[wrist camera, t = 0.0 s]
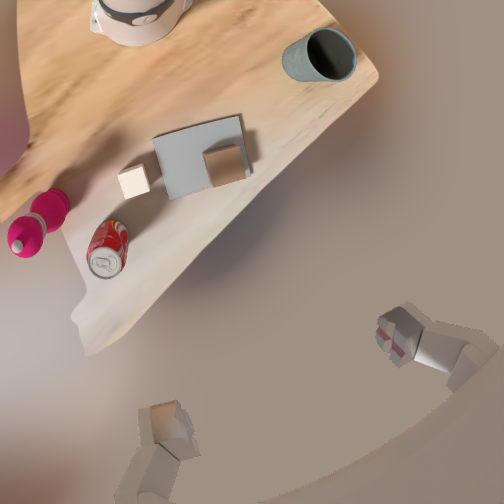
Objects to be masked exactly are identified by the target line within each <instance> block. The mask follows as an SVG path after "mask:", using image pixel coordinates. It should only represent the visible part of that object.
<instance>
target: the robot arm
mask: <svg viewBox="0 0 504 504" xmlns="http://www.w3.org/2000/svg"><path fill="white" fill-rule="evenodd" d="M192 3H193V0H93V1H92V11H91V22H90V29H91V31H92V32H93V33H96V34H102V35H106V36H107V37H109V38H110V39H111V40H113V41H114V42H116V43H118V44H121V45H125V46H142V45H147V44H150V43H153V42H155V41H157V40H159V39H161V38H162V37H164V36H165V35H167V34H168V33H169V32H170V31H171V30H172V29H173V28H174V26H175V25H176V23H177V21H178V20H179V18H180V16H181V15H182V13H184V12H185V11H186V10H188V9H189V8H190V7H191V6H192ZM95 21H97V22H95ZM377 324H378V325H379V327H378V329H377V330H376V336H375V338H376V341H377V344H378V345H379V347H380V348H381V349H382V350H383V351H384V352H387V353H389V358H390V359H391V360H392V362H393V363H394V364H395V365H396V366H397V367H398V368H400V367H402V366H403V365H405V364H407V363H408V362H410V361H411V360H413V359H414V360H416V361H418V362H421V363H423V364H426V365H428V366H431V367H434V368H436V369H439V370H442V371H444V372H447V373H449V374H450V376H449V378H448V380H447V382H446V386H447V387H448V388H449V389H450V390H451V391H452V392H453V394H452V395H451V396H450V397H449V398H447V399H446V400H445V401H444V402H442V403H441V404H440V405H439V406H437V407H436V408H435V409H434V410H432V411H431V412H430V413H428V414H427V415H426V416H425V417H423V418H422V419H420V420H419V421H418V422H416V423H415V424H414V425H412V426H411V427H409V428H408V429H406V430H405V431H404V432H402V433H401V434H399V435H398V436H396V437H395V438H393V439H392V440H390V441H388V442H387V443H385V444H384V445H382V446H380V447H379V448H377V449H375V450H374V451H372V452H370V453H369V454H367V455H365V456H363V457H362V458H360V459H358V460H356V461H354V462H352V463H351V464H349V465H347V466H345V467H343V468H341V469H339V470H337V471H335V472H333V473H331V474H329V475H327V476H324V477H322V478H320V479H318V480H316V481H313V482H311V483H309V484H306V485H304V486H302V487H300V488H297V489H294V490H292V491H289V492H286V493H284V494H281V495H279V496H276V497H273V498H270V499H267V500H264V501H261V502H258V503H255V504H504V344H503V345H502V346H501V347H500V346H498V345H497V344H496V343H495V342H494V341H493V340H492V339H490V338H489V337H488V336H487V335H486V334H484V333H483V332H482V331H480V330H476V329H471V328H466V327H462V326H458V325H454V324H449V323H445V322H440V321H435V322H433V321H432V320H431V319H430V318H429V317H427V316H426V315H425V314H424V313H422V311H420V310H419V309H418V308H417V307H416V306H414V305H413V304H412V303H411V302H408V301H407V302H404V303H403V304H401V305H400V306H398V307H395V308H393V309H392V310H390V311H388V312H387V313H385V314H383V315H381V316H380V317H379V318H378V319H377ZM137 416H138V426H139V435H140V444H141V447H139V448H137V450H136V452H135V454H134V456H133V458H132V460H131V462H130V464H129V466H128V468H127V470H126V472H125V474H124V476H123V478H122V480H121V482H120V484H119V486H118V488H117V490H116V492H115V494H114V498H115V504H175V503H173V502H171V501H169V498H170V495H171V491H172V488H173V485H174V482H175V479H176V476H177V472H178V469H179V466H180V463H181V462H180V461H183V460H187V459H191V458H194V457H198V456H201V454H200V451H199V447H198V443H197V441H196V439H195V438H193V433H194V428H193V424H192V422H191V419H190V417H189V415H188V413H187V412H186V411H185V410H183V409H181V404H180V403H179V402H178V400H173V401H170V402H165V403H161V404H157V405H153V406H148V407H145V408H141V409H138V413H137Z"/></svg>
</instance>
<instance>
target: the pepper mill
mask: <svg viewBox="0 0 504 504" xmlns="http://www.w3.org/2000/svg"><path fill="white" fill-rule="evenodd" d="M68 209H69V202H68V199H67V197H66V195H65V194H64V193H63V192H62V191H60V190H56V189H52V190H49V191H47V192H44V193H41V194H40V195H38V196H37V197H36V198H35V199H34V201H33V202H32V205H31V208H30V212H29V213H28V214H26V215H25V216H22V217H19V218H17V219H16V220H15V221H14V222H13V223H12V224H11V226H10V228H9V230H8V244H9V247H10V249H11V250H12V251H13V253H14V254H15V255H17V256H19V257H22V258H29V257H32V256H33V255H35V254H36V253H37V252H38V251H39V250H40V248H41V246H42V244H43V239H44V238H45V235H46V233H50V232H53V231H55V230H57V229H58V228H59V227H60V226H61V225H62V224H63V222H64V220H65V217H66V214H67V212H68Z"/></svg>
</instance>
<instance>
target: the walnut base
mask: <svg viewBox="0 0 504 504" xmlns="http://www.w3.org/2000/svg"><path fill="white" fill-rule="evenodd" d="M202 154H203V158H204V162H205V166H206V170H207V174H208V178H209V182H210V184H211V185H212V186H213V187H218V186H221V185H225V184H228V183H231V182H235V181H238V180H242V179H246V174H245V169H244V165H243V160H242V155H241V150H240V146H238V145H235V144H231V145H227V146H223V147H220V148H216V149H212V150H209V151H205V152H202Z"/></svg>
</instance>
